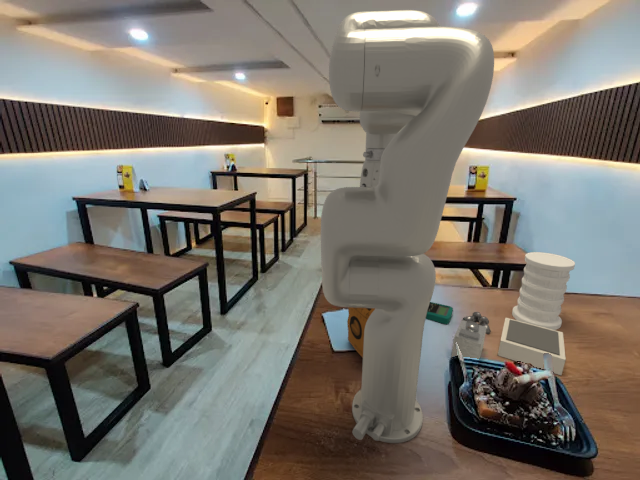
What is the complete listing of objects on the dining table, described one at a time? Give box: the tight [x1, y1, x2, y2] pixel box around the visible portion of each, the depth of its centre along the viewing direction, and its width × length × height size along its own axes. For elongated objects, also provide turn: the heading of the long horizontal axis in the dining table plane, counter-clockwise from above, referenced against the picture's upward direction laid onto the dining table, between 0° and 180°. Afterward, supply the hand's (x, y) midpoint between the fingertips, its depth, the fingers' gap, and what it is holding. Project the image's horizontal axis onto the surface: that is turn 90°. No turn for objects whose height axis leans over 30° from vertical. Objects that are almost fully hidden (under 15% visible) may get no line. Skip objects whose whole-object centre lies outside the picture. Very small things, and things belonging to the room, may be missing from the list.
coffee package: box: [346, 307, 375, 359], centre depth 72 cm, size 10×12×22 cm
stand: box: [497, 317, 567, 376], centre depth 75 cm, size 12×12×4 cm
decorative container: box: [511, 251, 576, 331], centre depth 86 cm, size 12×12×18 cm
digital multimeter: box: [425, 301, 454, 325], centre depth 92 cm, size 7×15×3 cm, turn 59°
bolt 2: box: [478, 315, 492, 335], centre depth 84 cm, size 5×2×2 cm, turn 166°
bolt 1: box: [462, 311, 482, 322], centre depth 87 cm, size 5×2×2 cm, turn 111°
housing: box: [451, 319, 487, 359], centre depth 73 cm, size 8×6×7 cm
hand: (376, 221), depth 85 cm, fingers open, 9 cm apart
